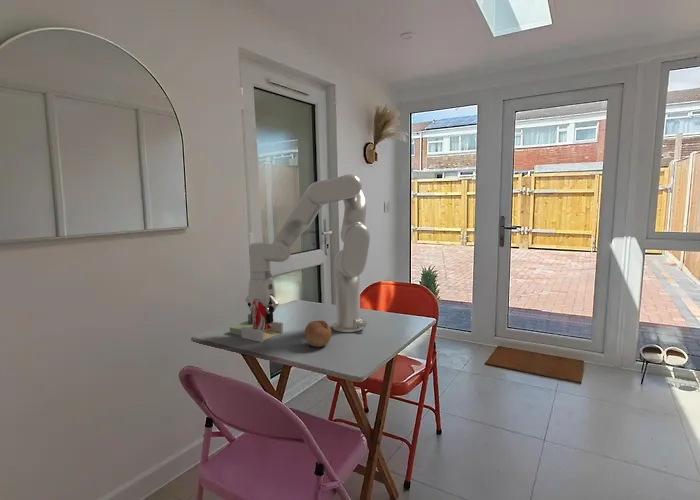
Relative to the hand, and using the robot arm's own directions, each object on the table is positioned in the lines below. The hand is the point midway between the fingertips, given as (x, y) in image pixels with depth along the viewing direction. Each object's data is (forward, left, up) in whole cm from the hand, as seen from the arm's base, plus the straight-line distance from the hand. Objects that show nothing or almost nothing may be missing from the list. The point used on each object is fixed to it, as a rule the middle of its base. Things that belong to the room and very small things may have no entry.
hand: (262, 321), depth 149 cm
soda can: (0, 0, -3) cm, 3 cm away
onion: (-25, -2, -6) cm, 26 cm away
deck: (+4, -3, -6) cm, 7 cm away
